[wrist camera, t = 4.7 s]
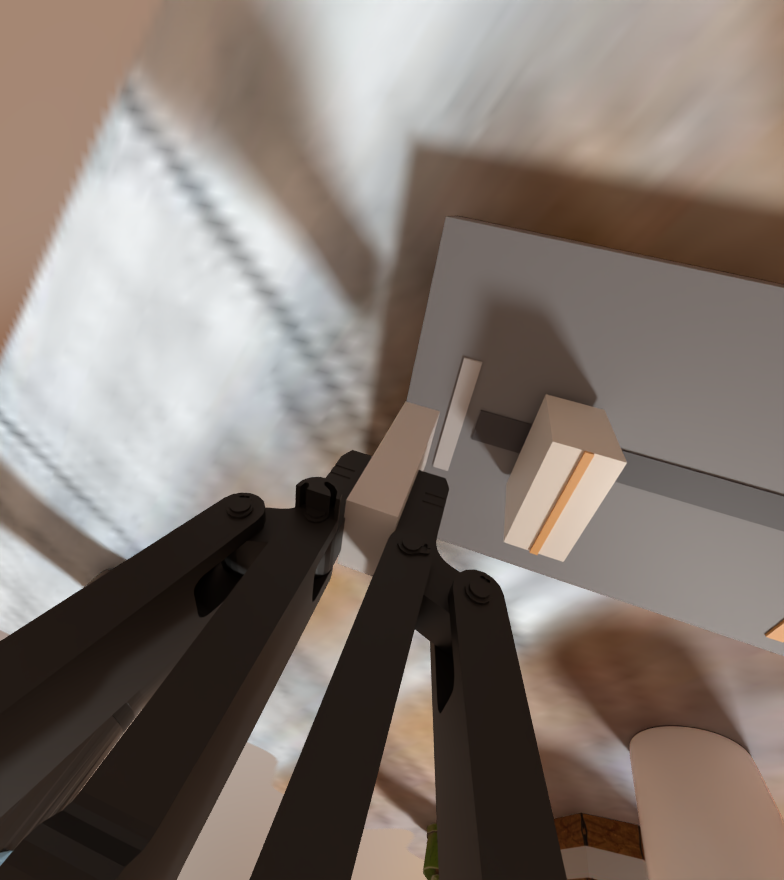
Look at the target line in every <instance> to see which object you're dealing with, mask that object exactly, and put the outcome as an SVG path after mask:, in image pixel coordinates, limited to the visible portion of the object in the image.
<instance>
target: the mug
mask: <svg viewBox="0 0 784 880" xmlns="http://www.w3.org/2000/svg"><path fill="white" fill-rule="evenodd" d="M554 823H555V827H556V832H557V836H558V841H559V845H560V850H561V854H562V859H563V863H564V868H565V872H566V877H567V880H648V876H647V869H646V863H645V856H644V849H643V843H642V836H641V829H640V826H638V825H635V824H630V823H626V822H621V821H616V820H612V819H607V818H602V817H598V816H593V815H589V814H584V813H579V814H574V815H570V816H565V817H561V818H556V819H554Z"/></svg>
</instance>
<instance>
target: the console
mask: <svg viewBox="0 0 784 880" xmlns="http://www.w3.org/2000/svg"><path fill="white" fill-rule="evenodd" d="M546 394H547V395H551V396H555V397H558V398H562V399H566V400H570V401H573V402H577V403H581V404H584V405H588V406H592V407H595V408H599V409H603V410H605V412H606V415H607V417H608V419H609V422H610V424H611V426H612V429H613V431H614V433H615V436H616V438H617V440H618V443H619V445H620V447H621V450H622V452H623V454H624V457H625V459H626V461H627V464H626V465H625V467H624V468H623V470H622V472H621V473H620V475H619V476H618V478H617V479H616V481H615V482H614V484H613V486H612V487H611V489H610V490H609V492H608V493H607V495H606V496H605V498H604V500H603V501H602V503H601V504H600V506H599V507H598V509H597V510H596V512H595V514H594V515H593V517H592V518H591V520H590V521H589V523H588V525H587V526H586V528H585V529H584V531H583V532H582V534H581V535H580V537H579V539H578V540H577V542H576V543H575V545H574V546H573V548H572V549H571V551H570V553H569V554H568V556H567V557H566V559H565V560H564V562H562V561H559V560H556V559H553V558H550V557H547V556H544V555H541V554H538V555H535V554H532V553H530V551H529V550H526V549H523V548H520V547H517V546H514V545H511V544H508V543H505V542H504V525H505V504H506V484H507V482H508V479H509V477H510V475H511V472H512V470H513V468H514V466H515V463H516V461H517V459H518V457H519V454H520V452H521V450H522V447H523V445H524V443H525V441H526V438H527V436H528V434H529V431H530V429H531V427H532V425H533V422H534V420H535V418H536V415H537V413H538V411H539V409H540V406H541V404H542V402H543V399H544V397H545V395H546ZM406 402H409V403H412V404H416V405H419V406H423V407H426V408H430V409H433V410H437V411H440V414H439V418H438V421H437V425H436V429H435V432H434V436H433V440H432V443H431V447H430V451H429V454H428V458H427V462H426V465H425V468H424V470H423V471H424V472H427V473H431V474H434V475H437V476H440V477H443V478H446V480H447V483H448V486H449V492H448V496H447V500H446V504H445V508H444V512H443V516H442V520H441V524H440V527H439V531H438V535H437V539H439V540H442V541H445V542H448V543H451V544H454V545H457V546H460V547H463V548H466V549H469V550H472V551H475V552H478V553H480V554H483V555H486V556H489V557H492V558H495V559H498V560H501V561H504V562H507V563H510V564H513V565H516V566H519V567H522V568H525V569H528V570H531V571H534V572H537V573H540V574H543V575H546V576H549V577H551V578H554V579H557V580H560V581H563V582H566V583H569V584H572V585H575V586H578V587H581V588H584V589H587V590H590V591H593V592H596V593H599V594H602V595H605V596H608V597H611V598H614V599H617V600H619V601H622V602H625V603H628V604H631V605H634V606H637V607H640V608H643V609H646V610H649V611H652V612H655V613H658V614H661V615H664V616H667V617H670V618H673V619H676V620H679V621H682V622H685V623H687V624H690V625H693V626H696V627H699V628H702V629H705V630H708V631H711V632H714V633H717V634H720V635H723V636H726V637H729V638H732V639H735V640H738V641H741V642H744V643H747V644H750V645H753V646H756V647H758V648H761V649H764V650H767V651H770V652H773V653H776V654H779V655H782V656H784V284H779V283H774V282H769V281H765V280H760V279H755V278H750V277H746V276H741V275H736V274H731V273H727V272H722V271H717V270H712V269H708V268H703V267H698V266H693V265H688V264H684V263H679V262H674V261H669V260H665V259H660V258H655V257H650V256H646V255H641V254H636V253H631V252H627V251H622V250H617V249H612V248H608V247H603V246H598V245H593V244H589V243H584V242H579V241H574V240H570V239H565V238H560V237H555V236H551V235H546V234H541V233H536V232H532V231H527V230H522V229H517V228H513V227H508V226H503V225H498V224H494V223H489V222H484V221H479V220H475V219H470V218H465V217H460V216H447V217H446V219H445V223H444V228H443V233H442V237H441V242H440V247H439V251H438V256H437V261H436V265H435V270H434V275H433V279H432V284H431V289H430V293H429V298H428V303H427V307H426V312H425V317H424V321H423V326H422V331H421V335H420V340H419V345H418V349H417V354H416V359H415V363H414V368H413V373H412V377H411V382H410V387H409V391H408V396H407V401H406Z"/></svg>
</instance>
